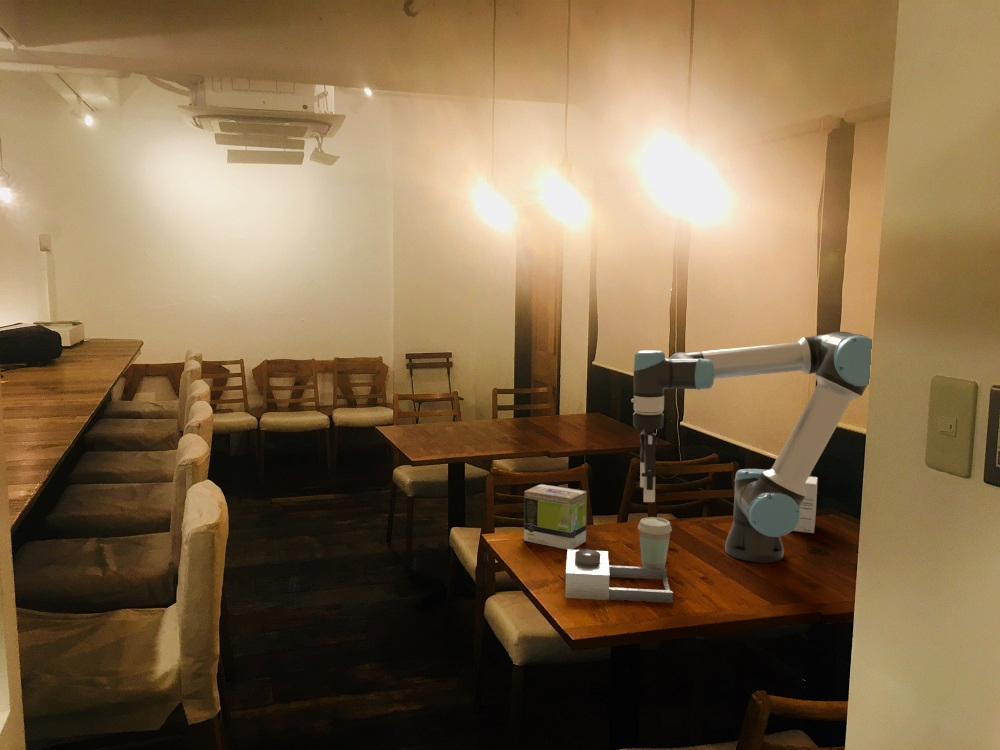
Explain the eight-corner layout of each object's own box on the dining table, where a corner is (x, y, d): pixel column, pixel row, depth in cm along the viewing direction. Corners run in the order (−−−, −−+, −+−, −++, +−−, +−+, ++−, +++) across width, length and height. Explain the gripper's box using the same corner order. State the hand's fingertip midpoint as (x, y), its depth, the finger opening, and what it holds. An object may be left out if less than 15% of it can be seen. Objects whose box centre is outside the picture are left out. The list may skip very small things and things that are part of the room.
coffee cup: (670, 574, 202) (672, 528, 200) (635, 571, 204) (637, 525, 202) (670, 562, 210) (672, 517, 209) (637, 559, 212) (638, 515, 210)
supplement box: (783, 521, 246) (786, 473, 245) (815, 525, 243) (818, 476, 241) (781, 529, 238) (784, 480, 236) (814, 533, 235) (817, 484, 233)
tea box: (586, 541, 226) (588, 490, 224) (570, 551, 217) (571, 498, 215) (540, 531, 234) (541, 482, 232) (522, 541, 225) (523, 490, 223)
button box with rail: (665, 577, 200) (667, 546, 199) (672, 603, 184) (673, 570, 183) (567, 572, 202) (567, 541, 201) (565, 597, 187) (566, 564, 186)
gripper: (630, 403, 215) (629, 481, 218) (636, 421, 190) (635, 508, 193) (659, 404, 214) (658, 481, 217) (668, 421, 189) (666, 508, 192)
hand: (647, 494), depth 205 cm, fingers open, 13 cm apart
